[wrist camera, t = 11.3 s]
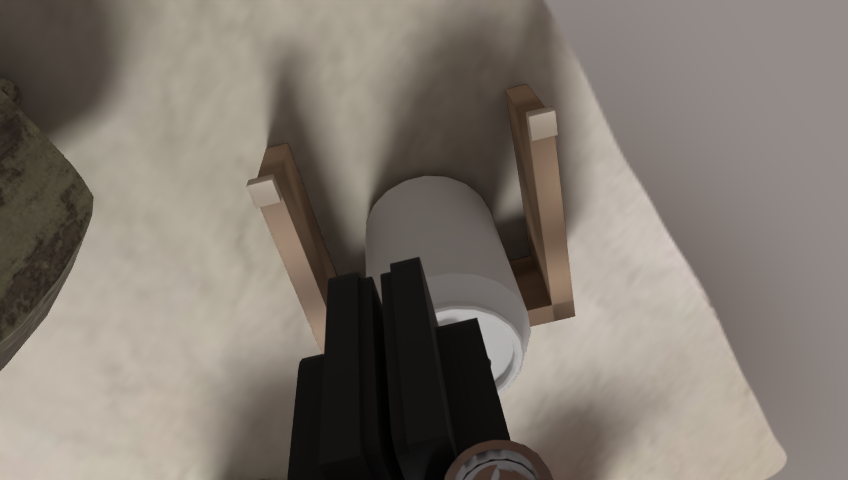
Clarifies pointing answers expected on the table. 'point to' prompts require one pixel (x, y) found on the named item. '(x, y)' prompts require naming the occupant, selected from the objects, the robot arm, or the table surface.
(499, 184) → the table surface
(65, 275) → the tabletop clock
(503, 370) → the can
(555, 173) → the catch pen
